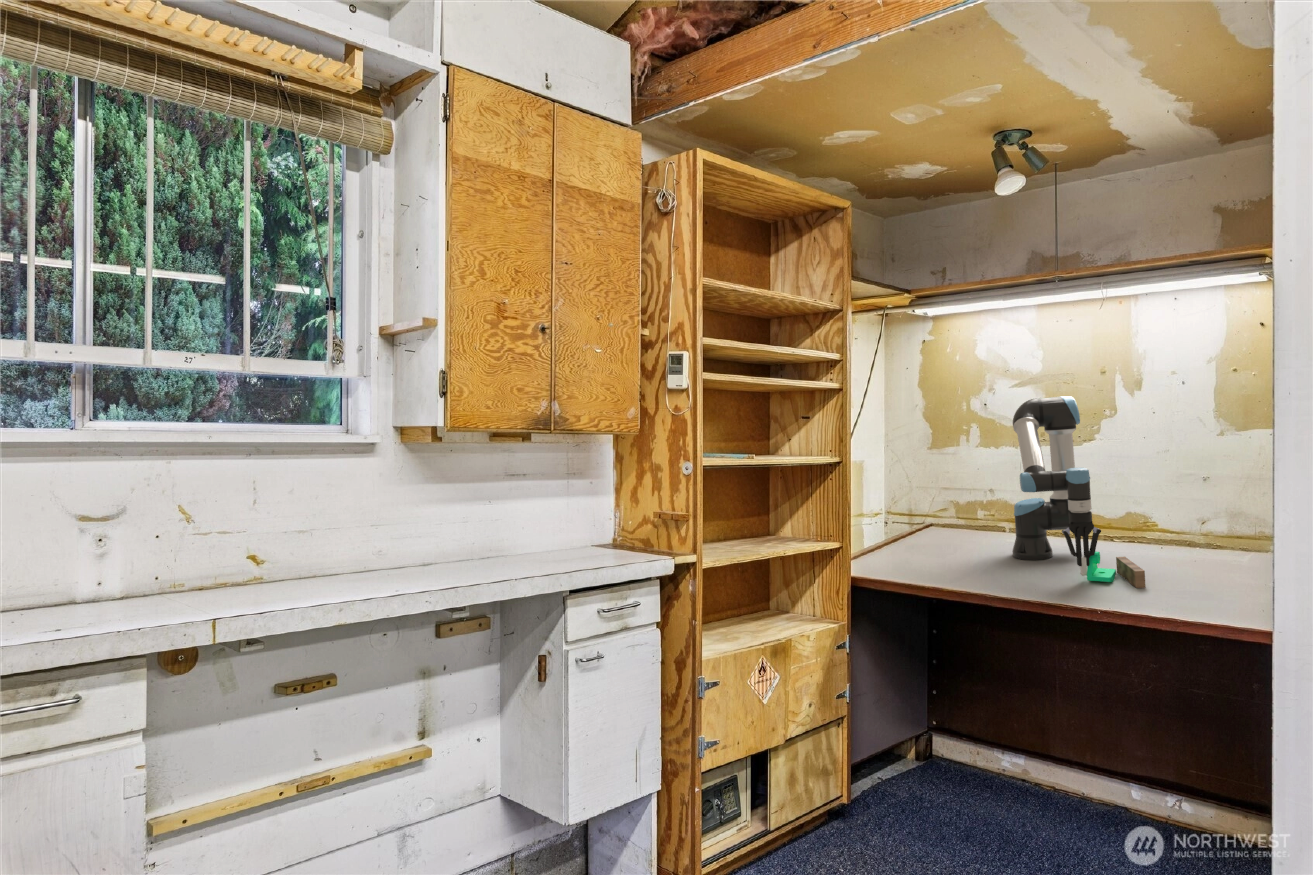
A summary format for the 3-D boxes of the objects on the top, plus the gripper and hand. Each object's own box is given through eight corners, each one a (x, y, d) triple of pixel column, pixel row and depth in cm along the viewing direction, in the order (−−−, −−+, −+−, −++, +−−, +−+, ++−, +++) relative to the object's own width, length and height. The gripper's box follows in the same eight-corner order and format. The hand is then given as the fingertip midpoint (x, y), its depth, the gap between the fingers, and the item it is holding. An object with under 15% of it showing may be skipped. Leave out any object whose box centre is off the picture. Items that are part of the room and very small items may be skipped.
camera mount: (1111, 584, 295) (1109, 556, 294) (1087, 583, 300) (1085, 555, 299) (1116, 575, 305) (1115, 548, 304) (1093, 574, 309) (1091, 547, 308)
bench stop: (1117, 572, 308) (1116, 557, 308) (1125, 572, 308) (1124, 556, 307) (1136, 588, 289) (1135, 571, 288) (1145, 587, 288) (1144, 570, 288)
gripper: (1063, 513, 298) (1067, 578, 300) (1102, 511, 295) (1106, 576, 297) (1057, 510, 305) (1061, 572, 307) (1096, 507, 302) (1100, 571, 304)
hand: (1084, 574), depth 302 cm, fingers closed
